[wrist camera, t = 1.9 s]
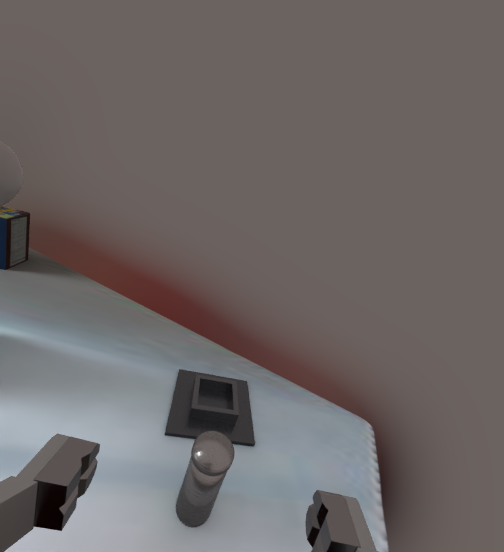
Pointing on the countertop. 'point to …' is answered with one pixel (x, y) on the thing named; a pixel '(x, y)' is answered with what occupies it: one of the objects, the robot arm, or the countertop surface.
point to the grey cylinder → (204, 477)
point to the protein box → (13, 237)
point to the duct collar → (210, 408)
